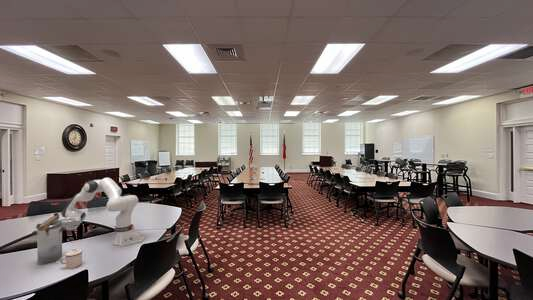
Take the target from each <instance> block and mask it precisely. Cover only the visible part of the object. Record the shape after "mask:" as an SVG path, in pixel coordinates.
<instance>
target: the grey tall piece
mask: <svg viewBox="0 0 533 300" xmlns="http://www.w3.org/2000/svg"><path fill="white" fill-rule="evenodd" d="M47 220H48V219H46V220H45V221H47ZM45 221H43V222H42V223H37V224H36V226H35V229H36V230H34V231H32V233H31V234H32V235H36V240H37V241H36V243H37V250H36V251H37V265H40V266H43V265H50V264H53V263H56V262H58V261H59V262H60V259H61V258H62V257H63V232H64V231H66V230H67V229H66V227H63V226H62V224H63V222H62V221H57V219H55V220H54V221H52V222H51V226H49V227H48V228H47V229H46V230H43V231H39V226H40V225H41V224H43V223H44V222H45ZM61 260H62V259H61Z"/></svg>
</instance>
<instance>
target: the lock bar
mask: <svg viewBox="0 0 533 300" xmlns="http://www.w3.org/2000/svg"><path fill="white" fill-rule="evenodd" d="M55 219H57V220H58V219H60V214H59V212H54V213H53V215H52V216H51V217H50V218H48V219H46V220H47V221H46V220H45V221H43V222H44V223H43V222H42V223H43V224H42V223H40V224H41V225H40V226H39V231H43V230H46V229H47V228H48V227H49V226H51V222H52V221H54V220H55Z"/></svg>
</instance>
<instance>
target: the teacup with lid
mask: <svg viewBox="0 0 533 300" xmlns="http://www.w3.org/2000/svg"><path fill="white" fill-rule="evenodd" d="M64 255H65V256H62V258H61V259H60V260H59V263H60V264H61V265H65V268H66V269H74V268H78V267H80V266H81V265H82V264H83V250H82V249H80V248H79V249H77V248H75V247H74V248H72V250H70V251H68V252H66V253H65V254H64ZM63 259H65V262H63V261H62V260H63Z"/></svg>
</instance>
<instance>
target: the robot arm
mask: <svg viewBox="0 0 533 300" xmlns="http://www.w3.org/2000/svg"><path fill="white" fill-rule="evenodd" d="M122 190H123V189H122V188H121V187H120V186H119V185H118V184H117V182H115V180H113V179H112V178H110V177H104V178H102V179H94V180H88V181H86V182H85V183H84V185H83V187H82V188H81V191H80V192H78V193H76V194H75V195H74V196H73V197H72V198H71V199H70V201H69V202H68V204H67V205H66V206H65V207H64V208H63V209H62V210H61V216H62V217H63V218H59V219H58V220H57V221H62V222H63V224H62V227H66V230H67V231H74V230H76V229H77V228H78V227H79V226H80V225H81V224H82V223H83V222H84V220H86V215H87V214H86V212H85V211H84V210H83V211H82V210H80V209H77V208H75V207H74V206H75V205H76V203H77V202H81V203H85V202H86V203H87V202H90V201H92V200H93V199H94V198H95V195H96V194H97V193H102V192H104V194H105V195H106V197H107V199H108V201H107V203H106V210H107V211H108V212H110V213H115V212H119V213H118V214H117V215H116V217H115V226H114V233H115V234H114V235H115V237H114V241H113V245H114V246H119V247H124V246H128V245H133V244H137V243H138V244H139V243H141V242H143V241H144V240H145V238H144V235H142V234H141V231H140V230H138V229H136V228H135V225H134V224H133V223H131V222H132V214H133V211H134V209H135V207H136V206H137V205H138V203H139V198H138V196H137V195H135V194H129V195H125V196H121V195H122V193H123V191H122Z"/></svg>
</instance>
